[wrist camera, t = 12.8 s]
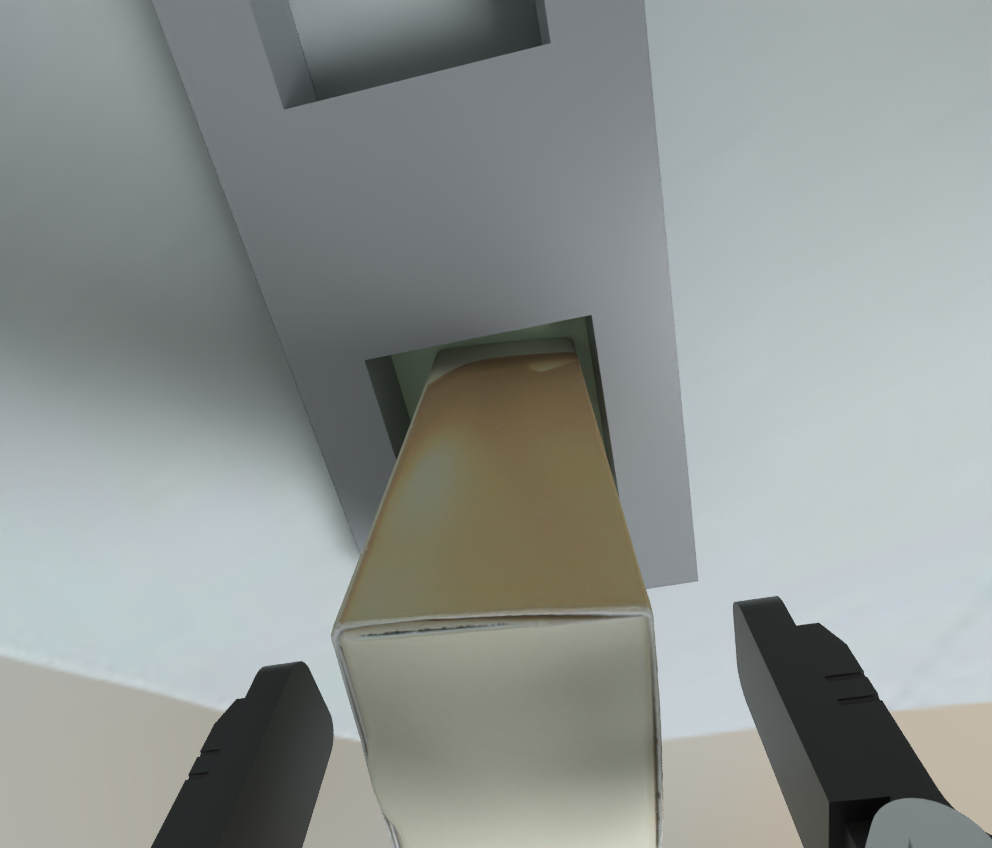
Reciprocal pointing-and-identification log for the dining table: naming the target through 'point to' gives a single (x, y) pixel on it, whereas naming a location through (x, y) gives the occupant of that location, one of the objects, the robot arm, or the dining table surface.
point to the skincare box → (505, 620)
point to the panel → (455, 235)
